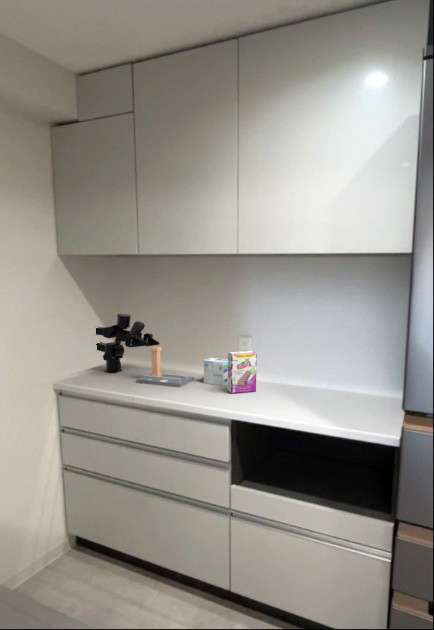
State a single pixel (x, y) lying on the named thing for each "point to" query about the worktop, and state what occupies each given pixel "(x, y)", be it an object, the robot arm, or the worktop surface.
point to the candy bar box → (242, 372)
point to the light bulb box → (216, 371)
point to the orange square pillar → (156, 361)
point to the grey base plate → (166, 380)
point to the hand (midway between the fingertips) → (154, 343)
